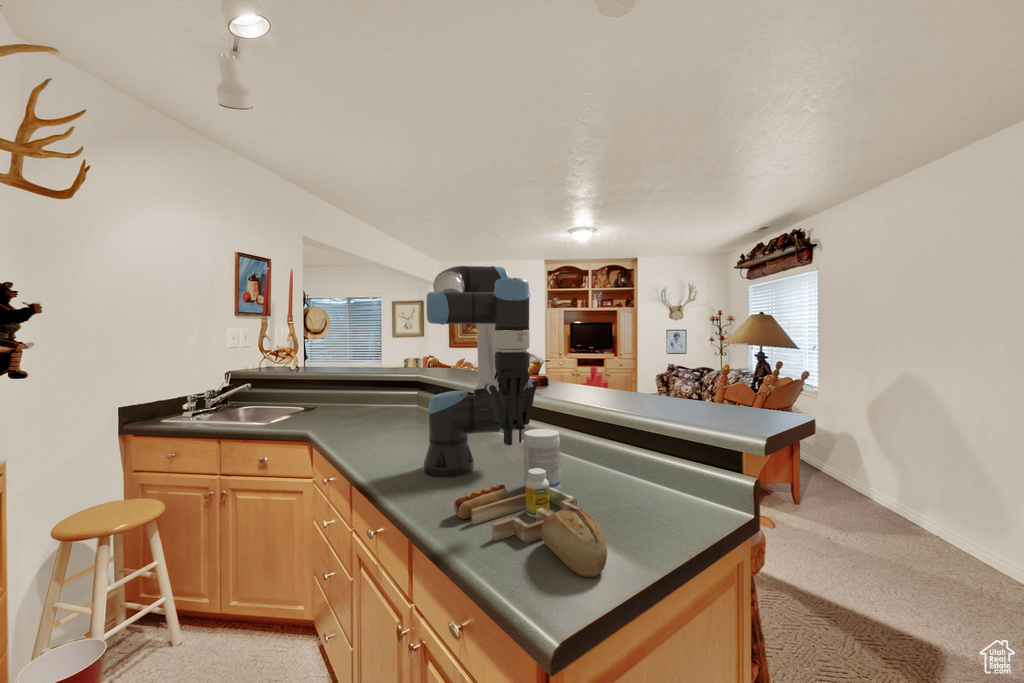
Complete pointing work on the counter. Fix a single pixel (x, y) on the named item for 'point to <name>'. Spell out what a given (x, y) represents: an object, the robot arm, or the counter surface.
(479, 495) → the food
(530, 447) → the supplement tub
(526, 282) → the robot arm
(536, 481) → the supplement bottle
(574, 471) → the counter surface
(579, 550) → the bread roll
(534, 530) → the light wood frame
